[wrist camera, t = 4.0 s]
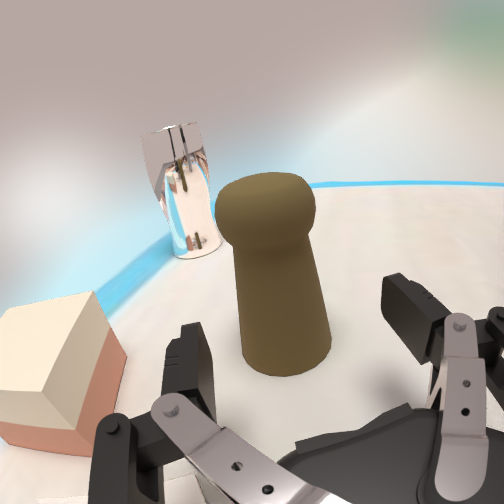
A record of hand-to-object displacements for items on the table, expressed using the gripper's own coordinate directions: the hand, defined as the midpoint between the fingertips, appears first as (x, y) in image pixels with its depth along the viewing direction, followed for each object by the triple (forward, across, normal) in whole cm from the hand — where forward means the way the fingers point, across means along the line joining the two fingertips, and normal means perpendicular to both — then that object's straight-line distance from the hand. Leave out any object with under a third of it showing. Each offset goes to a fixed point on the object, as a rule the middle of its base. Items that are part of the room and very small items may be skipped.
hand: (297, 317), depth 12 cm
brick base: (+2, +16, +6) cm, 18 cm away
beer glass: (+25, +6, +6) cm, 26 cm away
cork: (+5, 0, +6) cm, 8 cm away
